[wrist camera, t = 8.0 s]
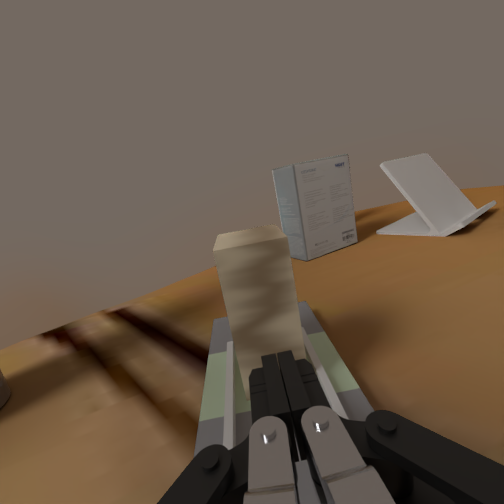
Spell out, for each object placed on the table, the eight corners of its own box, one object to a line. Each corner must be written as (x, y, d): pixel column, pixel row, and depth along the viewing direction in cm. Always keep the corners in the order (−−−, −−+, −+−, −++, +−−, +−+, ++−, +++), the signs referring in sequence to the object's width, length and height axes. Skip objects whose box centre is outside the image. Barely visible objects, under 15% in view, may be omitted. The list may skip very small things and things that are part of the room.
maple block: (246, 400, 21) (212, 251, 18) (243, 353, 27) (217, 234, 24) (310, 387, 21) (287, 236, 18) (293, 343, 27) (274, 224, 24)
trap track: (123, 1190, 5) (69, 1169, 4) (217, 333, 35) (212, 312, 34) (718, 1031, 5) (759, 987, 5) (307, 314, 35) (304, 293, 35)
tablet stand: (375, 234, 68) (370, 164, 64) (417, 213, 82) (416, 154, 78) (464, 238, 53) (465, 147, 49) (497, 211, 68) (500, 139, 63)
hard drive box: (334, 239, 69) (325, 158, 65) (358, 242, 63) (350, 153, 58) (285, 256, 63) (271, 168, 58) (306, 262, 56) (292, 162, 51)
